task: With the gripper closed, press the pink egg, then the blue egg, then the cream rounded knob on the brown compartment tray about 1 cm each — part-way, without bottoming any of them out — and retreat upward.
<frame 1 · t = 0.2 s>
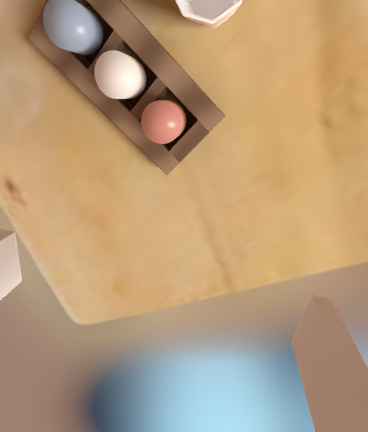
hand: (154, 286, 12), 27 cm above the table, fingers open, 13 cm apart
brown compartment tray: (134, 79, 33), on the table
blue egg: (74, 28, 27), point 4 cm above the table, slide at 0.0 cm
cream rounded knob: (121, 76, 29), point 4 cm above the table, slide at 0.0 cm
pink egg: (164, 121, 30), point 4 cm above the table, slide at 0.0 cm
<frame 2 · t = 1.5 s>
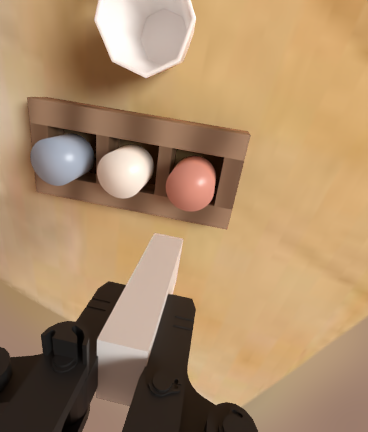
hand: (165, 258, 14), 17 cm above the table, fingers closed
brown compartment tray: (140, 160, 30), on the table
blue egg: (64, 158, 26), point 5 cm above the table, slide at 0.0 cm
cream rounded knob: (127, 170, 26), point 5 cm above the table, slide at 0.0 cm
cup: (156, 28, 25), on the table
pink egg: (192, 182, 25), point 4 cm above the table, slide at 0.0 cm
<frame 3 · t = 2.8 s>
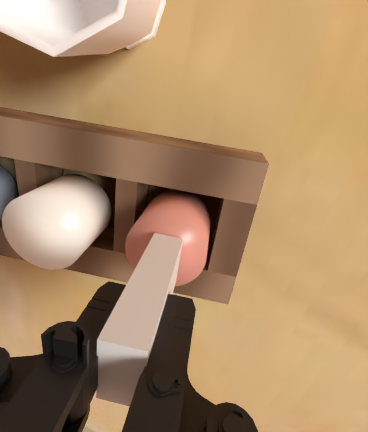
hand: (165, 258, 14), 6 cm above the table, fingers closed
brown compartment tray: (96, 193, 20), on the table
cream rounded knob: (62, 219, 16), point 5 cm above the table, slide at 0.0 cm
pink egg: (172, 235, 16), point 4 cm above the table, slide at 0.7 cm, touching gripper
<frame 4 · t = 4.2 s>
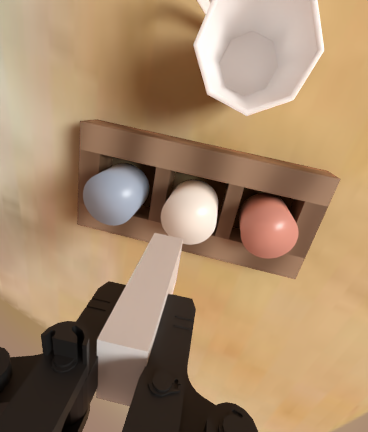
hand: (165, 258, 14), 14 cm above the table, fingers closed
brown compartment tray: (197, 194, 26), on the table
blue egg: (118, 192, 23), point 5 cm above the table, slide at 0.0 cm
cream rounded knob: (191, 210, 22), point 4 cm above the table, slide at 0.0 cm
cup: (236, 52, 22), on the table
pink egg: (265, 224, 23), point 4 cm above the table, slide at 0.9 cm
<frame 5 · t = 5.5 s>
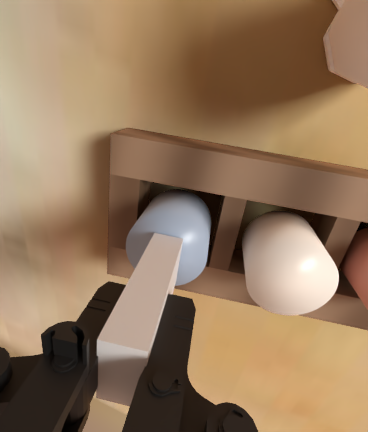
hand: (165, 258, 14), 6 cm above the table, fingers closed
brown compartment tray: (271, 224, 19), on the table
blue egg: (172, 234, 16), point 4 cm above the table, slide at 0.3 cm, touching gripper
cream rounded knob: (283, 259, 15), point 5 cm above the table, slide at 0.0 cm
cup: (349, 14, 14), on the table
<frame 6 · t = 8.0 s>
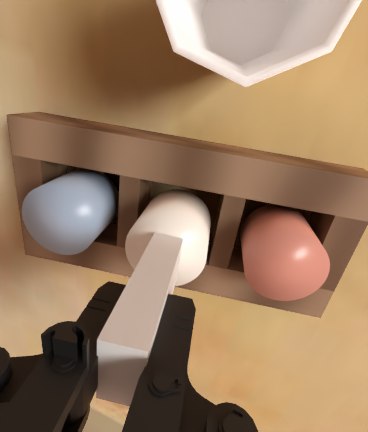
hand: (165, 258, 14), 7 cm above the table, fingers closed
brown compartment tray: (183, 206, 20), on the table
blue egg: (75, 208, 17), point 4 cm above the table, slide at 0.9 cm
cream rounded knob: (172, 235, 16), point 4 cm above the table, slide at 0.1 cm, touching gripper
pink egg: (279, 249, 16), point 4 cm above the table, slide at 0.9 cm
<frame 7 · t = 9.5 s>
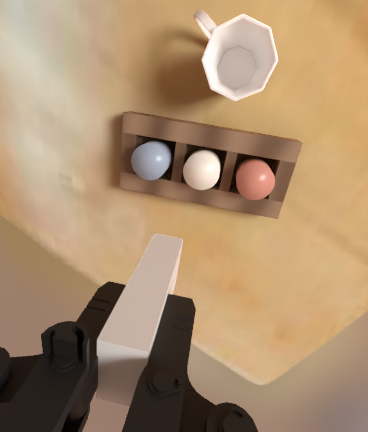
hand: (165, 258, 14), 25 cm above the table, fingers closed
brown compartment tray: (204, 162, 37), on the table
blue egg: (152, 159, 34), point 4 cm above the table, slide at 0.9 cm
cream rounded knob: (202, 168, 33), point 4 cm above the table, slide at 0.9 cm
cup: (228, 59, 32), on the table
pink egg: (253, 178, 33), point 4 cm above the table, slide at 0.9 cm
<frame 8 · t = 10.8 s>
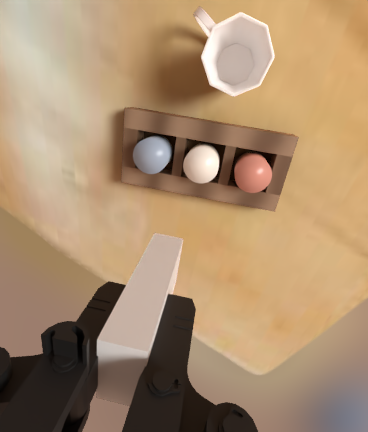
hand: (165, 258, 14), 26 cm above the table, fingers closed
brown compartment tray: (204, 157, 38), on the table
blue egg: (153, 153, 35), point 4 cm above the table, slide at 0.9 cm
cream rounded knob: (202, 162, 34), point 4 cm above the table, slide at 0.9 cm
cup: (226, 56, 32), on the table
pink egg: (251, 171, 34), point 4 cm above the table, slide at 0.9 cm
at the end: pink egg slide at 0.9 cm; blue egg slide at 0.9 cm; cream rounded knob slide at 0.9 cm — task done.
